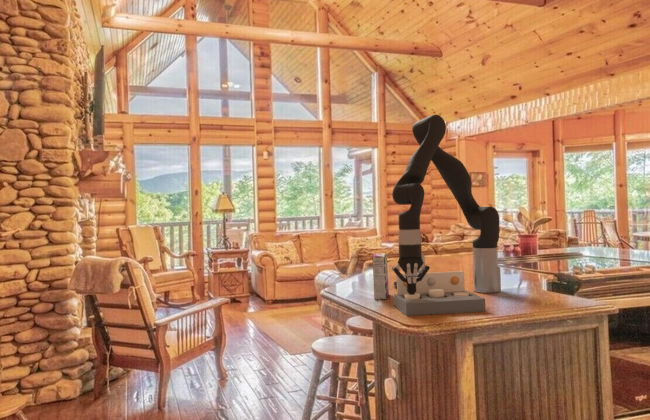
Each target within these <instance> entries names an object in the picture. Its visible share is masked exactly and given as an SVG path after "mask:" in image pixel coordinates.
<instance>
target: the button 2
mask: <svg viewBox="0 0 650 420" xmlns="http://www.w3.org/2000/svg"><path fill="white" fill-rule="evenodd" d="M453 295H454V296H455V297H460V296H469V293H467V292H455V293H453Z"/></svg>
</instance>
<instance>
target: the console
mask: <svg viewBox="0 0 650 420" xmlns="http://www.w3.org/2000/svg"><path fill="white" fill-rule="evenodd" d="M401 274H402V275H403V276H404V278H406V276H405V273H401ZM418 274H419V273H417V276H418ZM396 281H397V287H396V293H394V294H393V299H394V300H393V301H394V302H393V303H394V305H395V306H396V307H395V306H394V307H395V308H397V310H399V311H400V312H401V313H402V314H404V315H405V316H406V317H412V316H413V315H415V316H429V315H430V314H432V315H444V314H446V315H447V314H449V315H450V314H461V313H462V314H463V313H478V312H479V313H481V312H487V311H486V310H487V309H486V298H484V297H482V296H479V295H477V294H475V293H473V292H470V291H468V290H465V289H466V287H465V271H464V270H461V271H460V270H457V271H439V272H435V271H434V272H427V273H426V274H425V276H424V277H423V279H422V280H421V281H419V282H417V283H416V293H418V294H420V299H405V294H406V293H408V292H407V283H406V282H403V281H401V279H400V278H399V277H398V276H397V275H396ZM430 289H443V290H444V297H442V298H430V297H429V290H430ZM455 292H467V293H469V296H460V297H455V296H454V295H453V293H455ZM413 317H414V316H413Z"/></svg>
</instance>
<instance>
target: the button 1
mask: <svg viewBox="0 0 650 420" xmlns="http://www.w3.org/2000/svg"><path fill="white" fill-rule="evenodd" d="M405 299H420V294H418V293H415V294H414V295H410V294H409V293H406V294H405Z"/></svg>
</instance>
